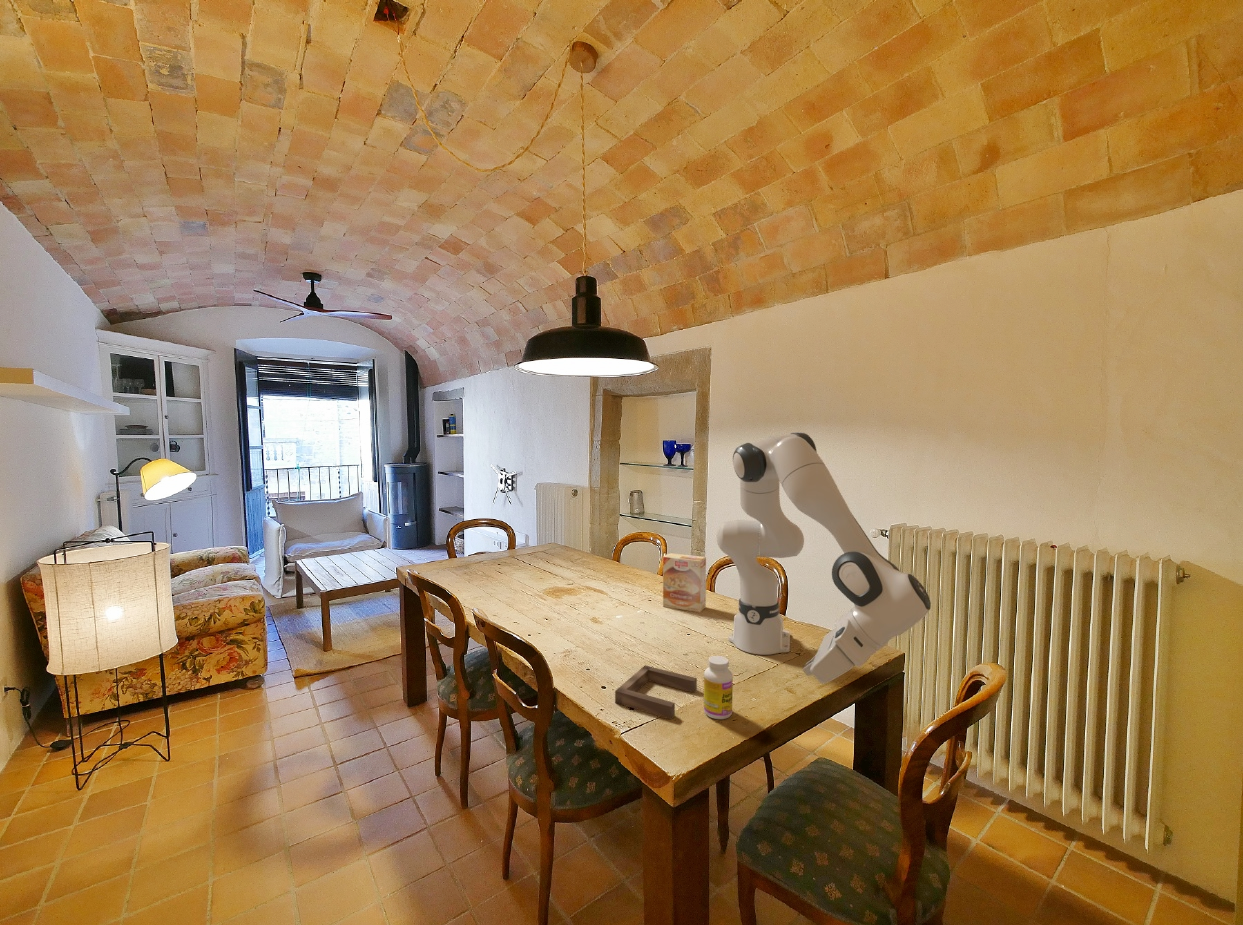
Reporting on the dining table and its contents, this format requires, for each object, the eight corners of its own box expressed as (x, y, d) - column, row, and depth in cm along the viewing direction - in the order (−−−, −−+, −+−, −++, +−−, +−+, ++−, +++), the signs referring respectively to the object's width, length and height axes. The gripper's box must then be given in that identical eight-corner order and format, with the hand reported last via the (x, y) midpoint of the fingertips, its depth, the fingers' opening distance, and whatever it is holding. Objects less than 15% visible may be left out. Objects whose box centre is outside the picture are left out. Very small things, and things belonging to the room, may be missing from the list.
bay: (645, 676, 141) (645, 665, 140) (696, 689, 133) (696, 678, 133) (615, 702, 127) (615, 690, 127) (671, 719, 119) (671, 706, 119)
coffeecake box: (662, 607, 196) (662, 556, 195) (669, 601, 203) (669, 552, 202) (700, 613, 190) (700, 560, 189) (706, 607, 196) (706, 556, 195)
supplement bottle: (722, 724, 117) (723, 669, 117) (698, 713, 122) (698, 660, 121) (737, 712, 122) (738, 659, 122) (713, 702, 127) (713, 651, 126)
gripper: (850, 607, 116) (804, 641, 121) (838, 639, 98) (785, 677, 104) (872, 630, 114) (824, 664, 119) (864, 667, 96) (808, 704, 102)
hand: (806, 670), depth 111 cm, fingers closed
